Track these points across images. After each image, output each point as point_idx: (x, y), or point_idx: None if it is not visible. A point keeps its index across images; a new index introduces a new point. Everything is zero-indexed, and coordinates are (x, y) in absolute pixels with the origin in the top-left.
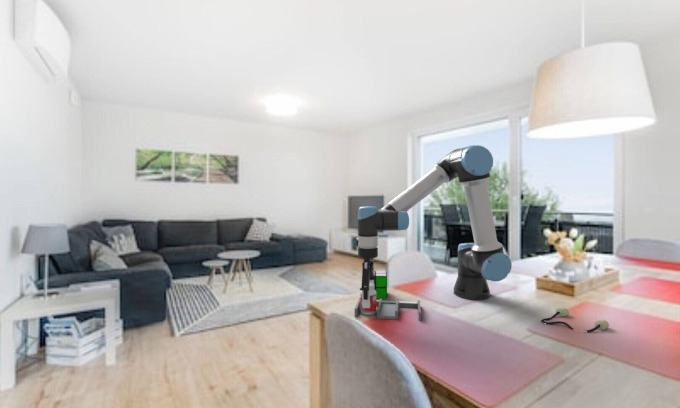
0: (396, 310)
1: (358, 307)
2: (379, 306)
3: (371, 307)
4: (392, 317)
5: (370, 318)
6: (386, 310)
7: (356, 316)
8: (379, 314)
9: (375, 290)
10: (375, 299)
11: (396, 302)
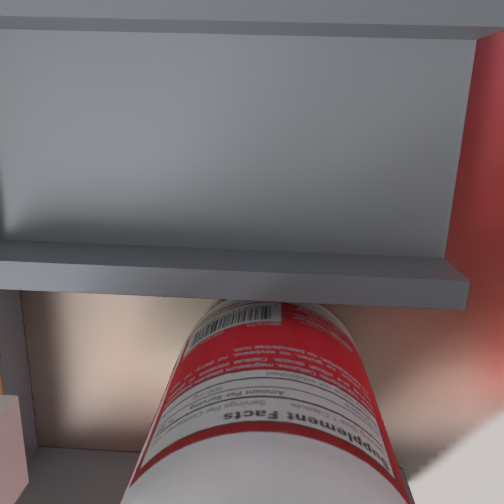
0: (488, 4)
1: None
2: (316, 280)
3: (368, 381)
4: (464, 81)
5: (445, 337)
6: (255, 170)
7: (402, 471)
8: (410, 253)
9: (230, 494)
10: (324, 388)
11: (83, 14)
